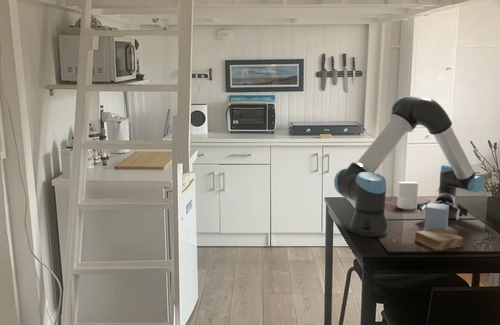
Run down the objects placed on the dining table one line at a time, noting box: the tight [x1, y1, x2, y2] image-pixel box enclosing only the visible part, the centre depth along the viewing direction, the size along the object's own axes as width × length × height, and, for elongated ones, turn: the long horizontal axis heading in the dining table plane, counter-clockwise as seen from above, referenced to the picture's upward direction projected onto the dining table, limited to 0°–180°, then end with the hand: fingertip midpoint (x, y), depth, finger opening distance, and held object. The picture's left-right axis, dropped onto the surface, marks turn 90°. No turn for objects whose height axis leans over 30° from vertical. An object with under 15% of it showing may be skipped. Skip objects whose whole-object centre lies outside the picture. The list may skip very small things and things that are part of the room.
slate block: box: [423, 202, 450, 231], centre depth 198 cm, size 8×8×11 cm
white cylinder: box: [396, 181, 419, 210], centre depth 236 cm, size 9×9×12 cm
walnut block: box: [414, 228, 464, 251], centre depth 186 cm, size 12×12×4 cm
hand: (439, 214), depth 202 cm, fingers open, 13 cm apart
